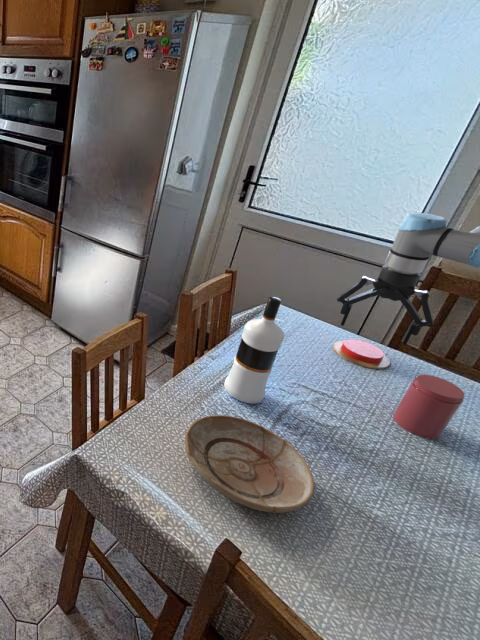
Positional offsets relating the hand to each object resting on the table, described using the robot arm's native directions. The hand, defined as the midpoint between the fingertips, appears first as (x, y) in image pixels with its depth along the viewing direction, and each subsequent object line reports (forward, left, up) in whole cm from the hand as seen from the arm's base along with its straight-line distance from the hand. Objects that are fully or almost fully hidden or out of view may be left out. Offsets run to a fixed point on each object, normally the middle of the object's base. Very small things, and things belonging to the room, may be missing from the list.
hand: (372, 332), depth 122 cm
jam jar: (-13, +25, -8) cm, 29 cm away
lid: (0, 0, -6) cm, 6 cm away
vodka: (+20, +43, -9) cm, 48 cm away
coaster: (0, 0, -8) cm, 8 cm away
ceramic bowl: (+13, +70, -9) cm, 72 cm away
